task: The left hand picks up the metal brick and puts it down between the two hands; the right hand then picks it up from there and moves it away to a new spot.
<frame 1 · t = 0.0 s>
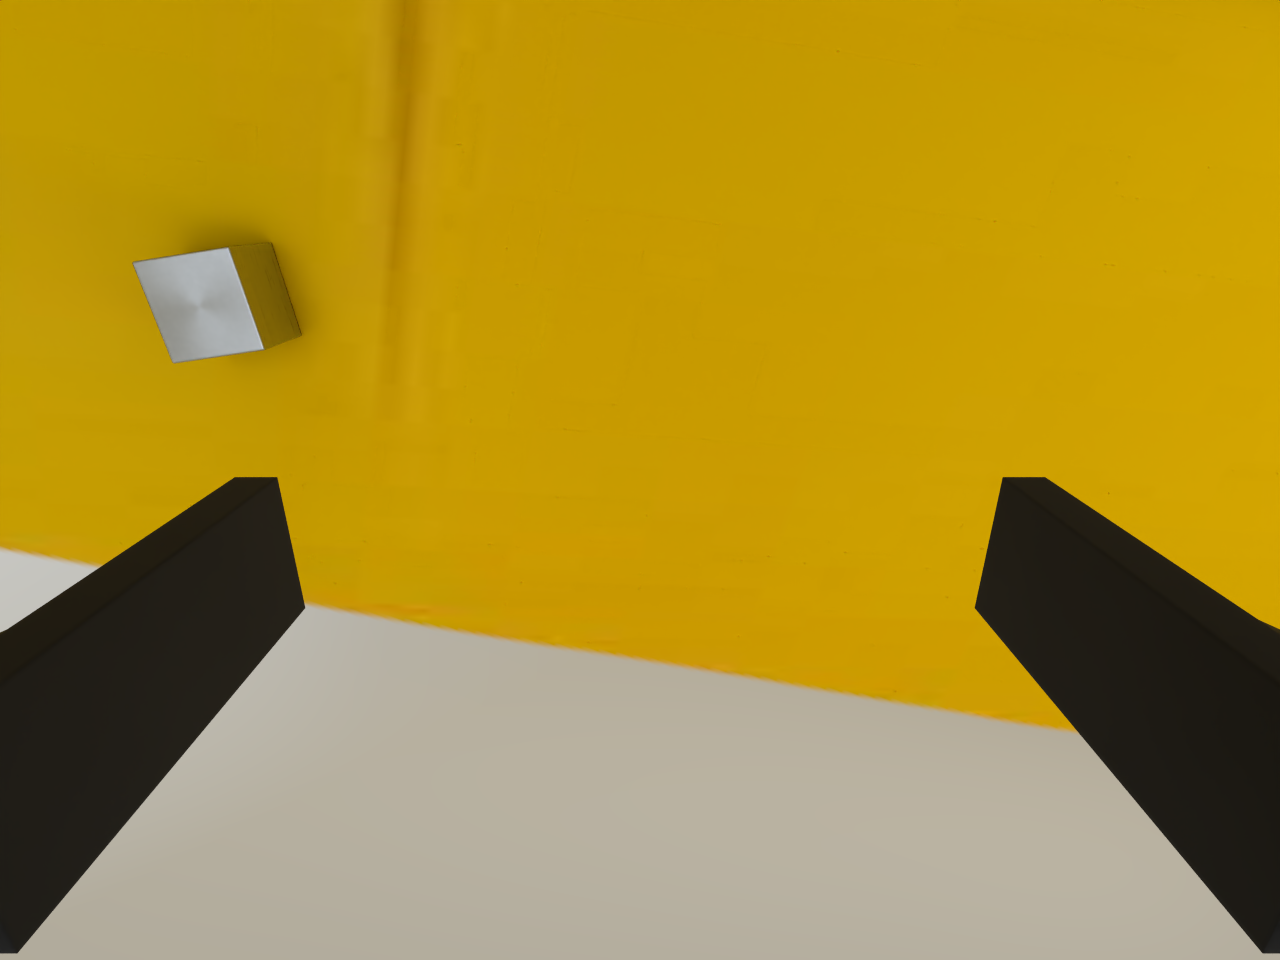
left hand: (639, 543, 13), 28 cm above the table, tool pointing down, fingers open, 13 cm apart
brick: (244, 296, 38), on the table
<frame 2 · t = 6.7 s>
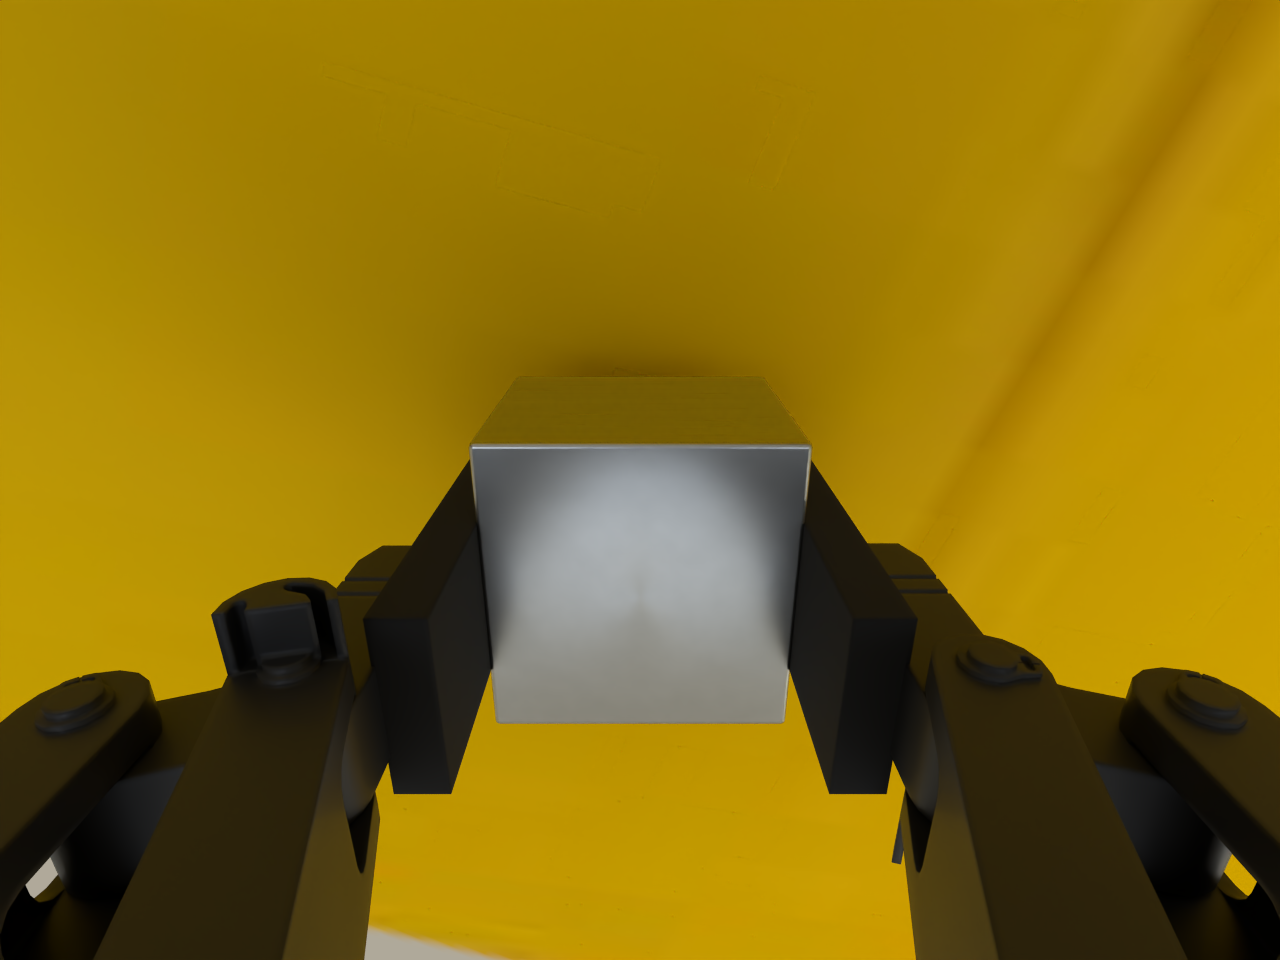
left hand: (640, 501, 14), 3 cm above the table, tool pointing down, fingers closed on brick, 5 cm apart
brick: (640, 492, 15), point 3 cm above the table, touching left hand
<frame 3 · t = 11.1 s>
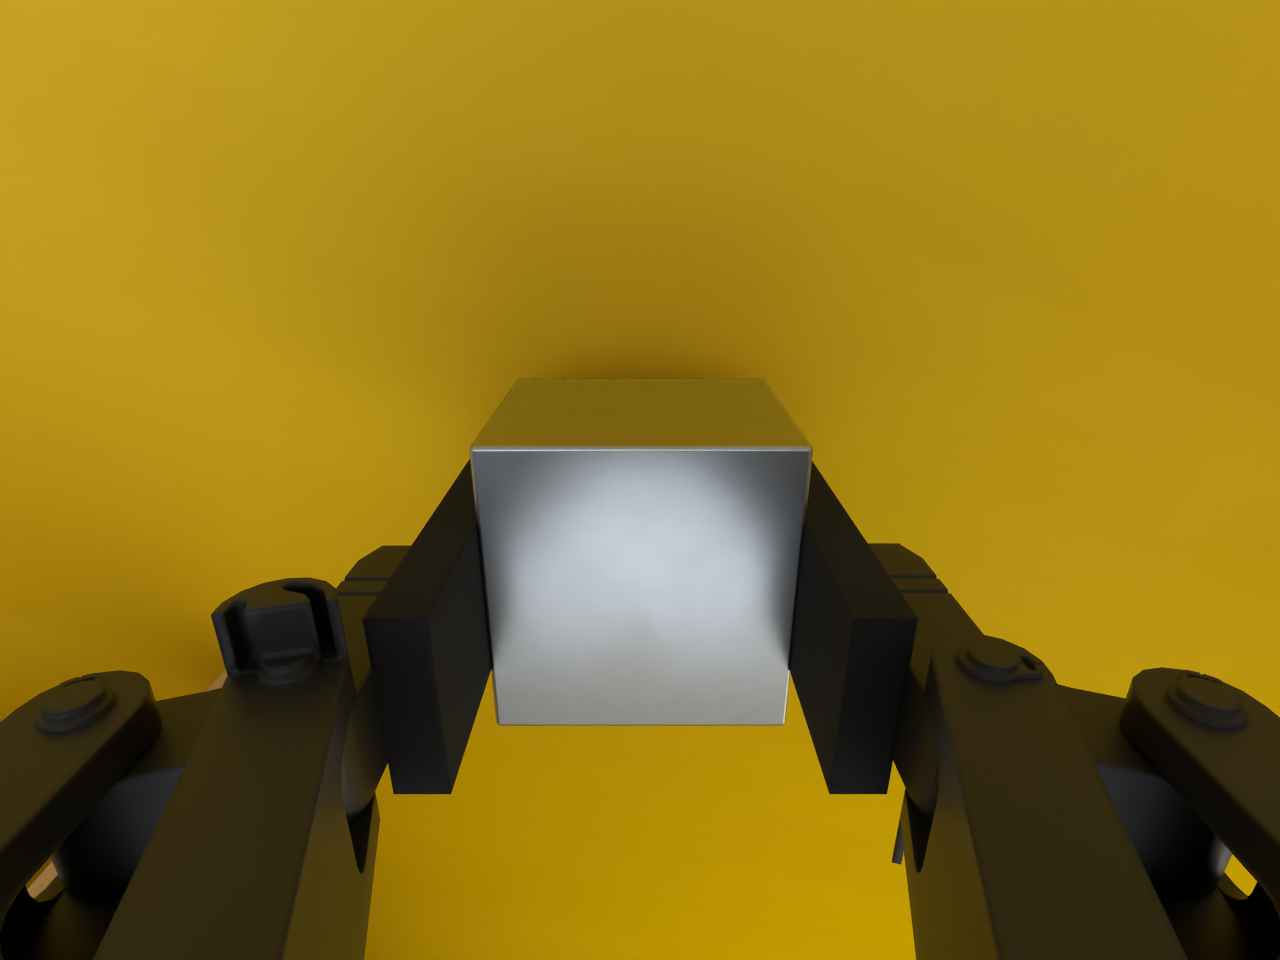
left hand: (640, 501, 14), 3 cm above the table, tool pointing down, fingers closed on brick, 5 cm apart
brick: (640, 494, 15), point 3 cm above the table, touching left hand
planter: (105, 948, 25), on the table
when the left hand's fingers open (1 cm above the table, at t = 15.6 s): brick stays where it is, on the table.
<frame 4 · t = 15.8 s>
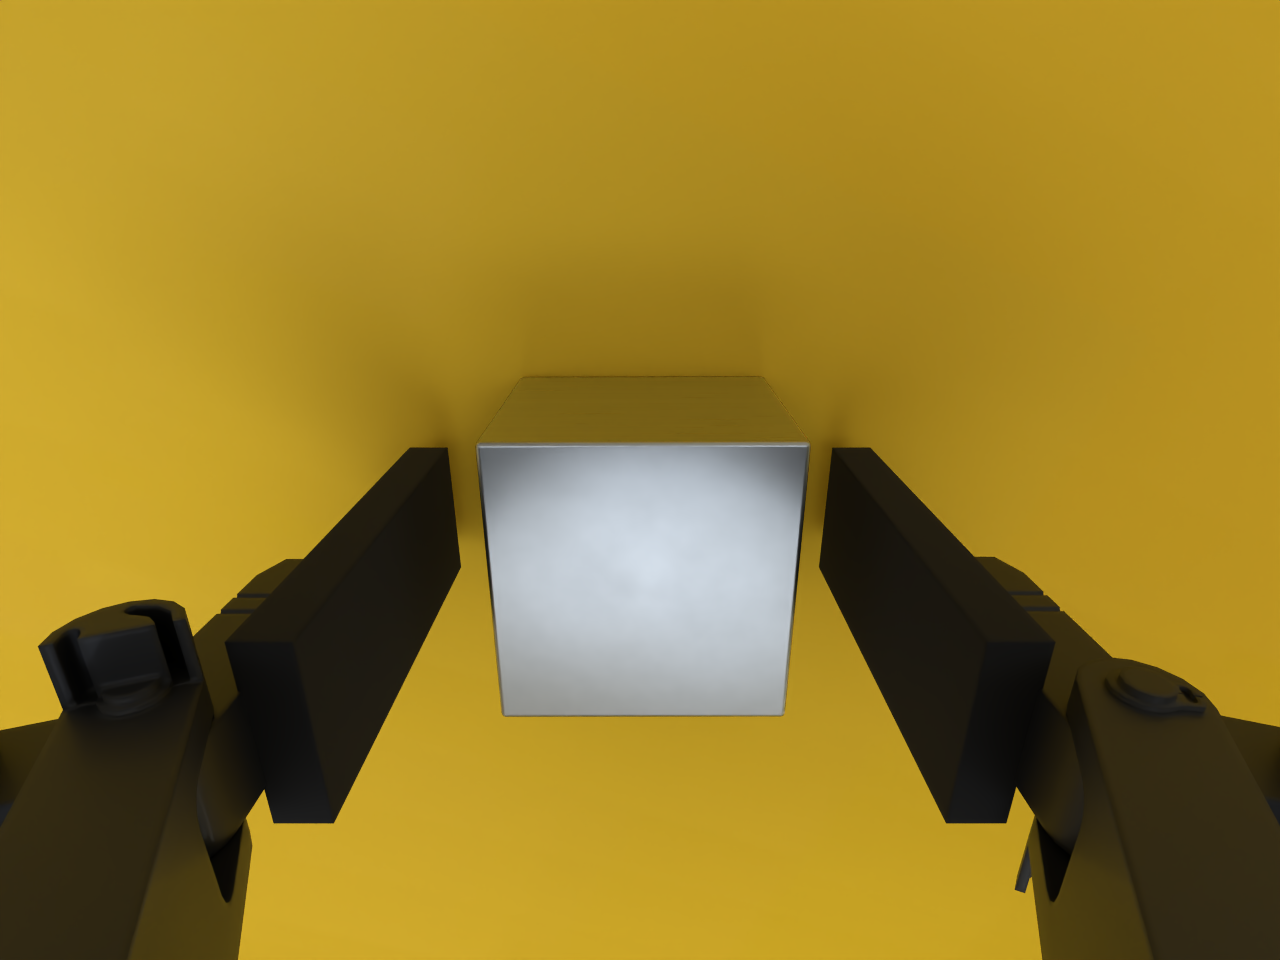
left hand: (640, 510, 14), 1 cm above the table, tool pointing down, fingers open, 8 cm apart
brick: (642, 490, 15), on the table
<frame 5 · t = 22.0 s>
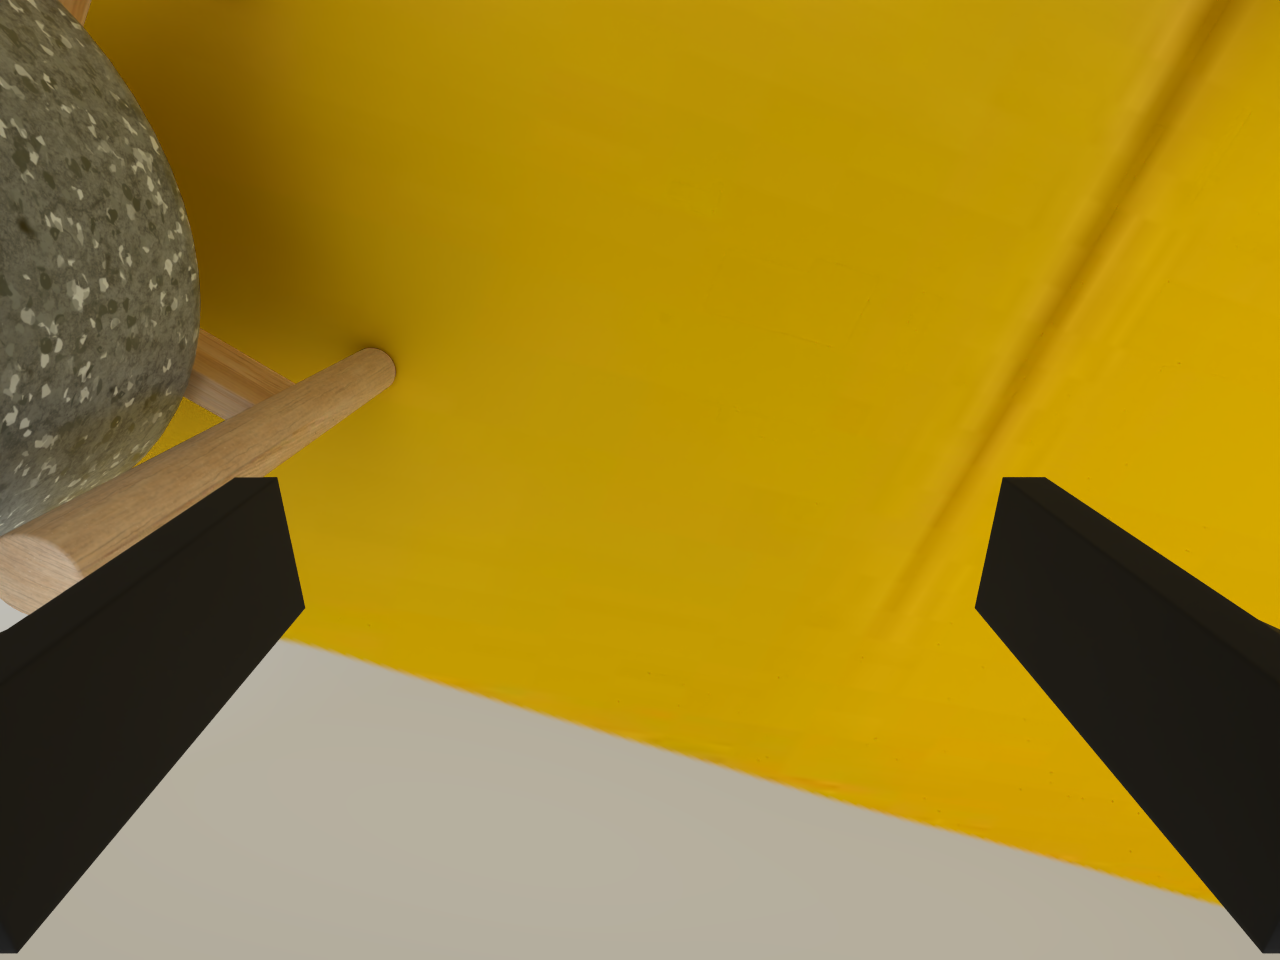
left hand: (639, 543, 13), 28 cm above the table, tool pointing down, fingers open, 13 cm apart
planter: (137, 223, 36), on the table
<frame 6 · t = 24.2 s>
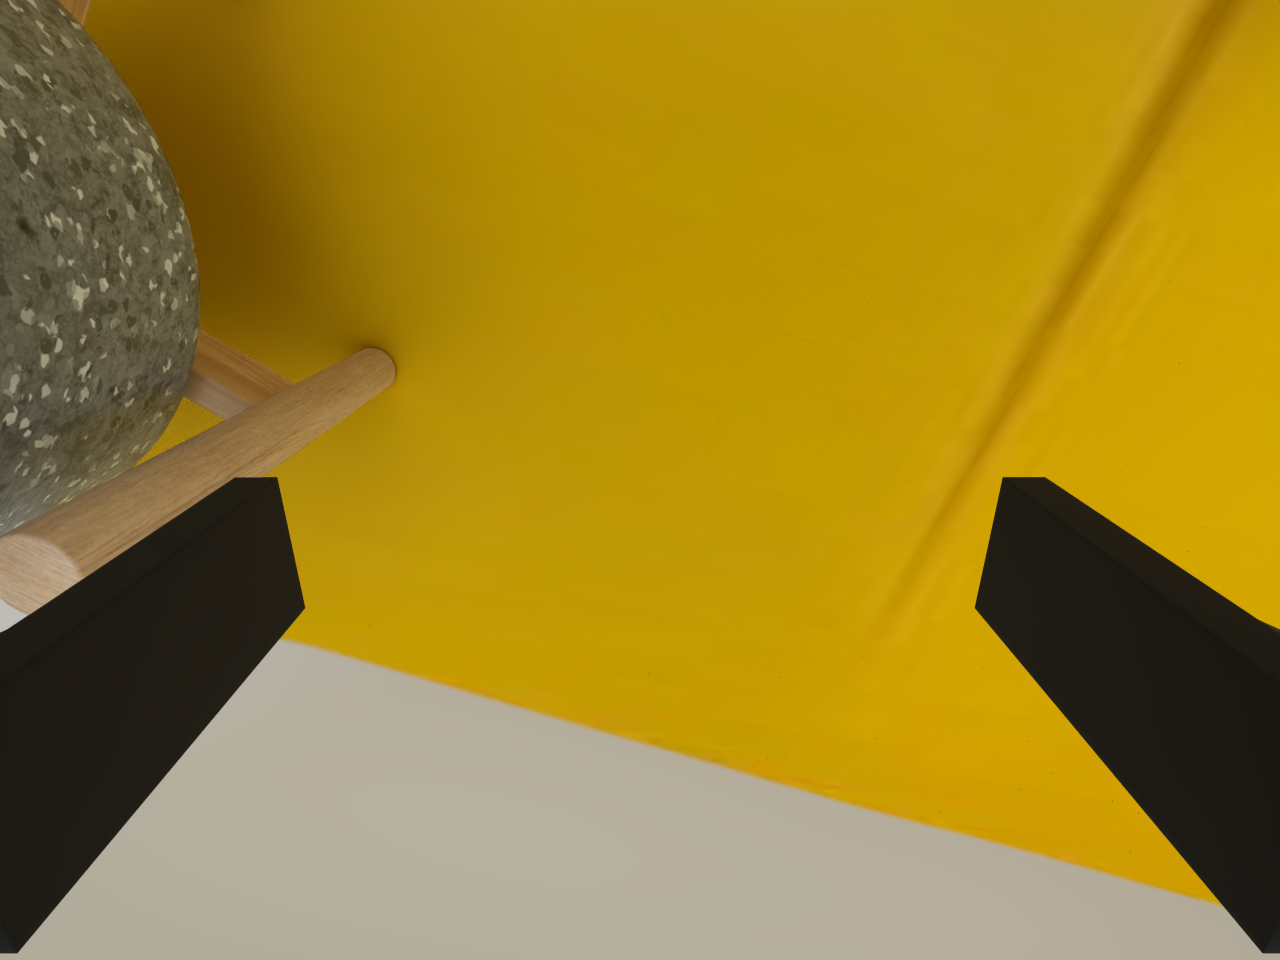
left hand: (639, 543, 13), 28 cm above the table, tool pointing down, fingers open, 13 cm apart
planter: (137, 223, 36), on the table
when the right hand's fingers open (2 cm above the table, at t = 26.5 s): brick drops 1 cm, on the table.
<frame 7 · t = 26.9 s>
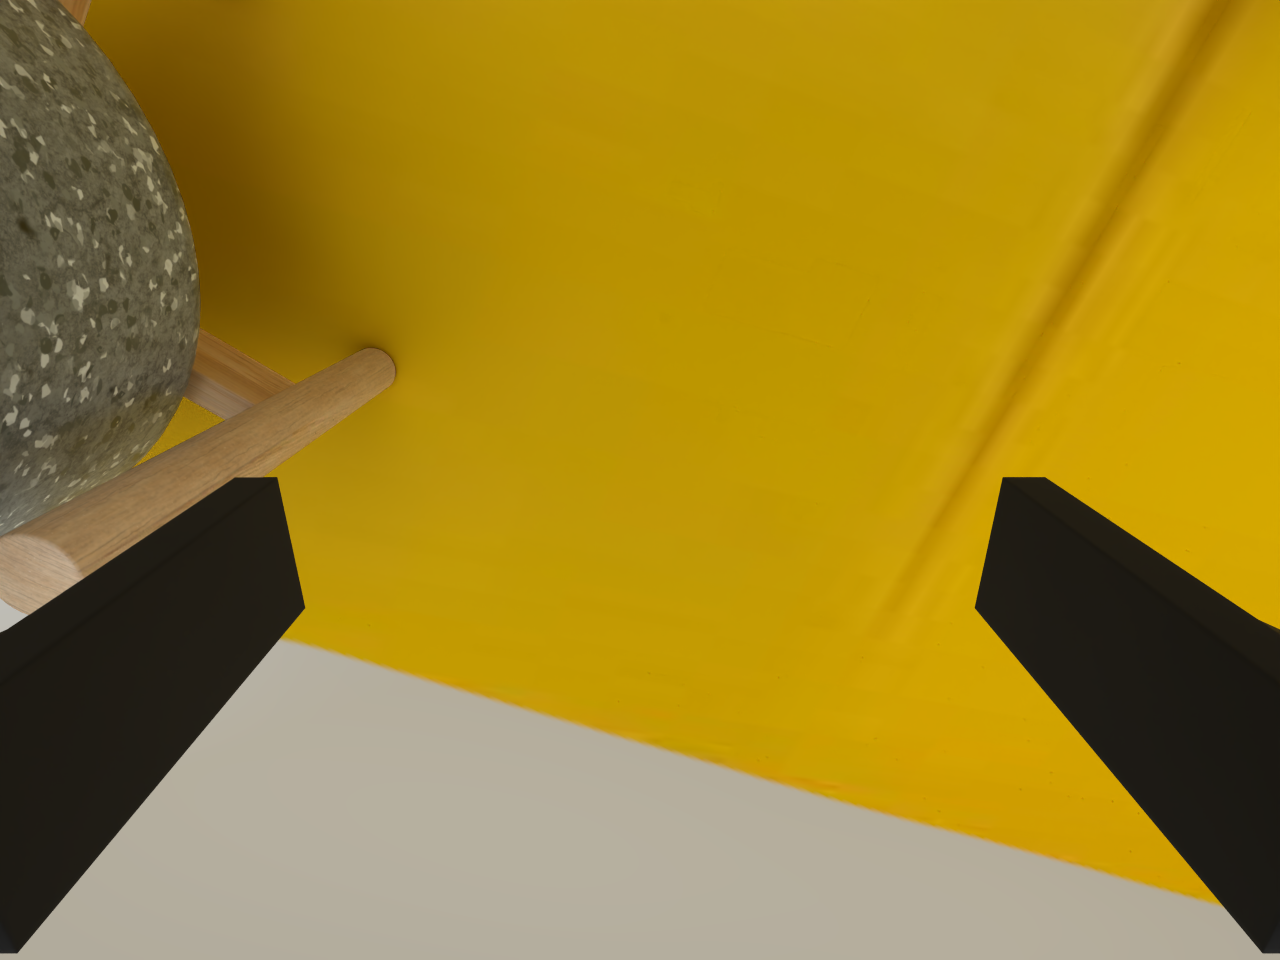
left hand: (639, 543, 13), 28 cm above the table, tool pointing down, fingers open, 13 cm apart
planter: (137, 223, 36), on the table
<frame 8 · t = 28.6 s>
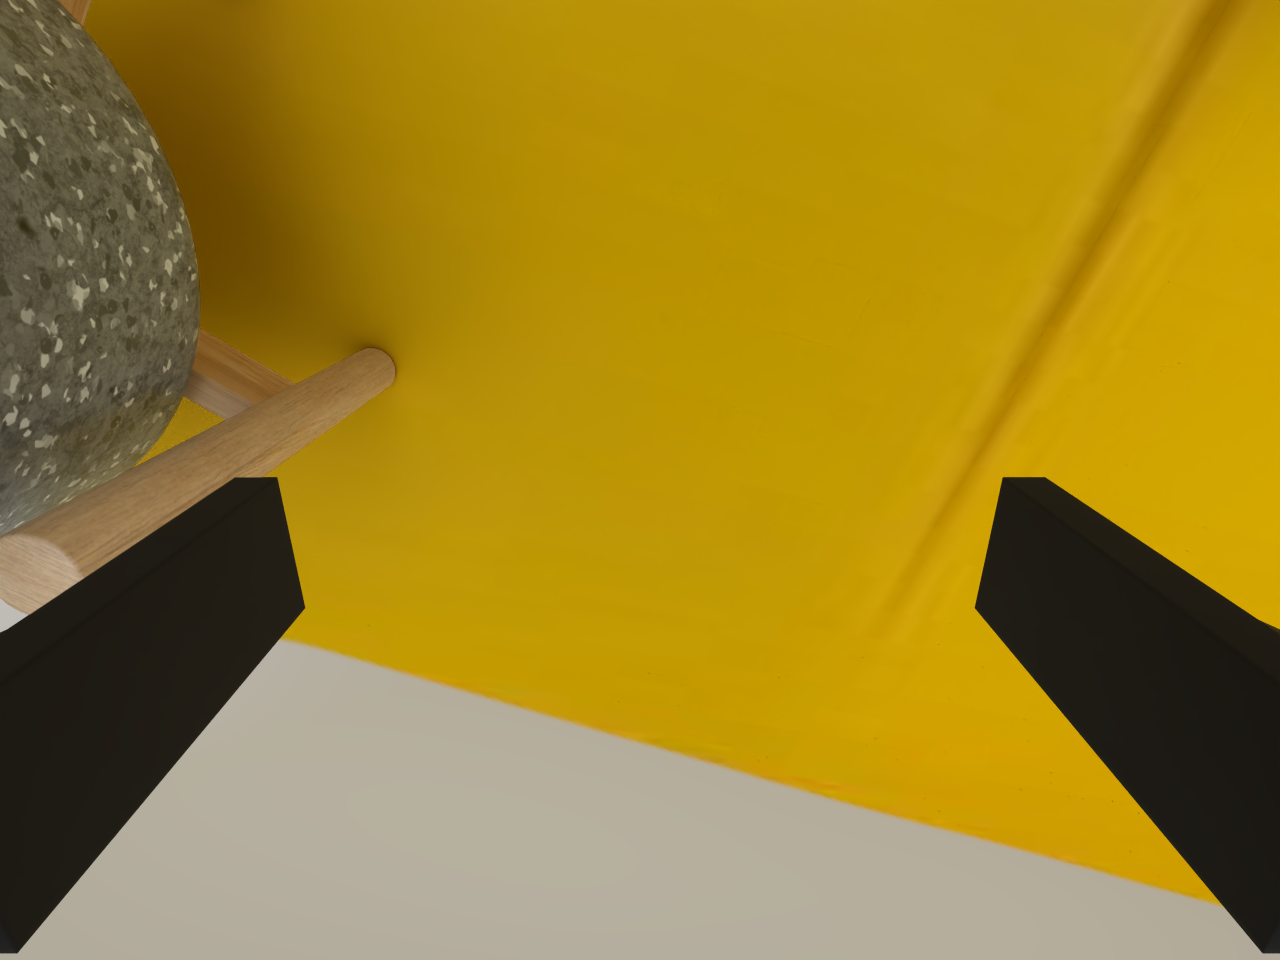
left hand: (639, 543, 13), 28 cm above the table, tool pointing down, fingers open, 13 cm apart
planter: (137, 223, 36), on the table
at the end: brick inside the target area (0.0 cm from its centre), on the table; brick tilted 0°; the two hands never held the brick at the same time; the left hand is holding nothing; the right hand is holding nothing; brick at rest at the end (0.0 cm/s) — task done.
